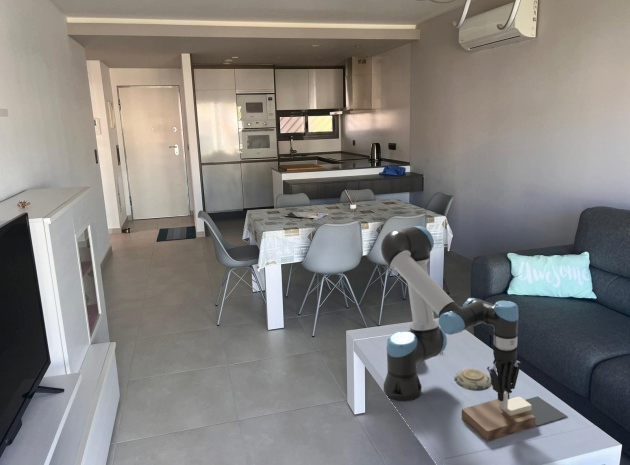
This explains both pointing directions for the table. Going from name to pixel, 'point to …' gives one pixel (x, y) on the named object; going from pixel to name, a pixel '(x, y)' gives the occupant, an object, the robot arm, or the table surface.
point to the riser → (495, 420)
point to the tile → (517, 406)
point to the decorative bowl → (473, 380)
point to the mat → (544, 411)
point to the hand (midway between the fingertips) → (503, 407)
